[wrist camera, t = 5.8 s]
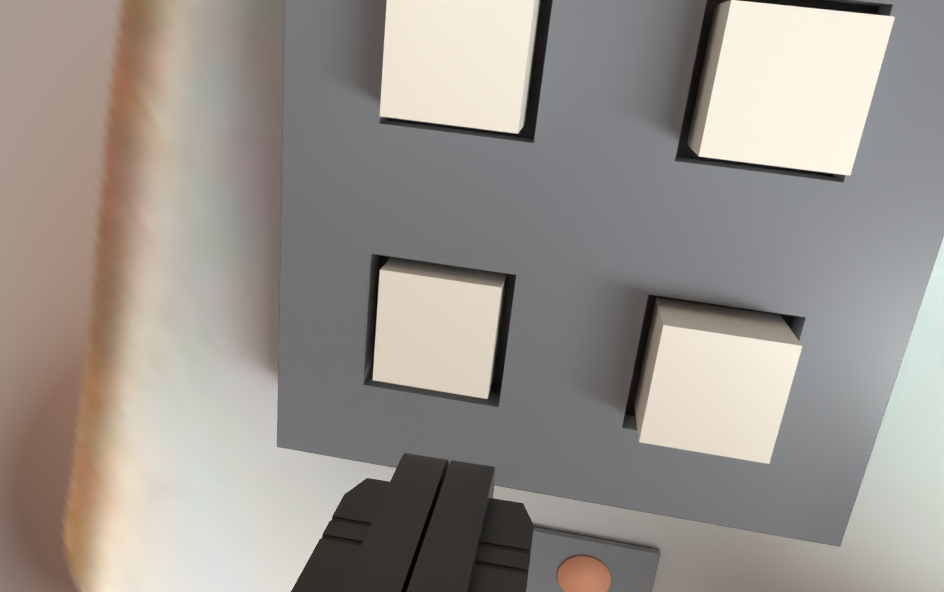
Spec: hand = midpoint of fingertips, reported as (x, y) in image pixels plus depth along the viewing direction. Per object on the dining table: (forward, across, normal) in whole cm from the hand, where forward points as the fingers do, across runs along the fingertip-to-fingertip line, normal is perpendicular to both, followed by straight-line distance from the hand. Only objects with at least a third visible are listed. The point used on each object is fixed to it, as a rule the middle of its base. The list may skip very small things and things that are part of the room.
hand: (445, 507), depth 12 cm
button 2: (+15, +2, +2) cm, 15 cm away
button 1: (+13, -7, +2) cm, 15 cm away
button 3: (+14, -7, -7) cm, 16 cm away
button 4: (+13, +2, -7) cm, 15 cm away
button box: (+16, -2, -2) cm, 16 cm away
